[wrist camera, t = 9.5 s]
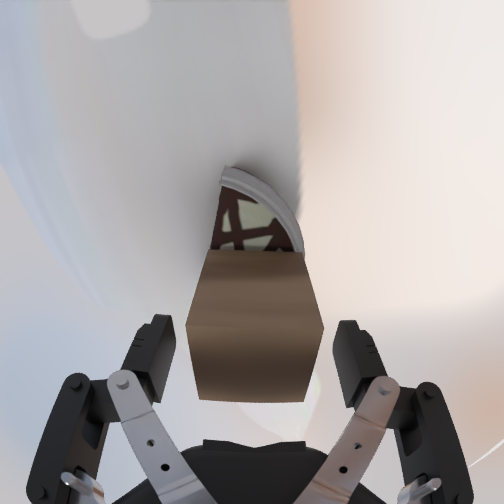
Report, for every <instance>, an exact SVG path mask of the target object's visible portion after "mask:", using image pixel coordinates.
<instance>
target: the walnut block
mask: <svg viewBox="0 0 504 504" xmlns="http://www.w3.org/2000/svg"><path fill="white" fill-rule="evenodd" d="M185 326H186V332H187V338H188V344H189V349H190V355H191V361H192V366H193V371H194V376H195V381H196V386H197V390H198V396H199V399H200V400H212V401H228V402H253V403H284V402H304V399H305V395H306V392H307V389H308V386H309V382H310V379H311V375H312V372H313V368H314V365H315V361H316V358H317V354H318V350H319V346H320V343H321V339H322V335H323V331H324V326H323V323H322V319H321V316H320V312H319V308H318V305H317V302H316V298H315V294H314V291H313V287H312V284H311V281H310V277H309V274H308V270H307V267H306V264H305V261H304V257H303V254H302V252H277V251H243V250H208V253H207V256H206V259H205V262H204V265H203V268H202V272H201V275H200V278H199V281H198V284H197V288H196V291H195V294H194V298H193V301H192V304H191V308H190V311H189V314H188V318H187V321H186V325H185Z"/></svg>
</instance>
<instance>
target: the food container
mask: <svg viewBox="0 0 504 504" xmlns="http://www.w3.org/2000/svg"><path fill="white" fill-rule="evenodd" d="M219 185H221V186H222V189H221V193H220V196H219V205H218V211H217V216H216V221H215V226H214V231H213V237H212V242H211V245H210V250H243V251H277V252H302V254H303V257H304V258H305V251H304V242H303V237H302V234H301V230H300V227H299V224H298V222H297V220H296V218H295V216H294V214H293V212H292V211H291V210H290V208H289V207H288V205H287V204H286V203H285V201H284V200H283V199H282V198H281V197H280V196H279V195H278V194H277V193H276V192H275V191H274V190H273V189H272V188H271V187H269V186H268V185H267V184H265V183H264V182H262V181H261V180H259V179H258V178H256V177H254V176H253V175H251V174H250V173H248V172H246V171H244V170H241V169H238V168H235V167H228V166H225V168H224V171H223V173H222V176H221V180H220V182H219Z"/></svg>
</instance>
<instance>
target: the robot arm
mask: <svg viewBox="0 0 504 504" xmlns="http://www.w3.org/2000/svg"><path fill="white" fill-rule="evenodd" d="M175 348H176V337H175V332H174V327H173V322H172V317H171V315H161V314H155V315H154V317H153V320H152V322H151V324H144V325H143V326H142V327H141V328H140V329H139V330H138V331H137V333H136V335H135V337H134V340H133V342H132V344H131V346H130V349H129V351H128V353H127V355H126V358H125V360H124V363H123V365H122V367H121V369H120V370H119V371H116V372H114V373H113V374H111V375H110V376H109V378H108V379H105V380H93V381H92V380H91V381H90V380H89V378H88V377H87V376H86V375H85V374H83V373H74V374H72V375H70V376H68V377H67V378H66V379H65V381H64V383H63V385H62V388H61V390H60V392H59V394H58V397H57V399H56V402H55V404H54V406H53V409H52V411H51V414H50V416H49V419H48V421H47V424H46V427H45V429H44V432H43V435H42V438H41V441H40V443H39V446H38V449H37V452H36V455H35V458H34V461H33V465H32V468H31V471H30V475H29V478H28V482H27V486H26V493H27V496H28V499H29V500H30V502H31V503H32V504H106V503H105V501H104V491H103V488H102V486H101V485H100V484H99V483H98V482H97V481H96V477H97V472H98V467H99V463H100V459H101V455H102V451H103V446H104V442H105V439H106V435H107V431H108V427H109V423H110V422H122V423H121V425H122V428H123V430H124V432H125V434H126V436H127V439H128V441H129V443H130V445H131V447H132V449H133V451H134V453H135V455H136V457H137V459H138V461H139V463H140V465H141V467H142V468H143V470H144V472H145V474H146V476H147V477H148V478H147V479H146V480H144V481H143V482H142V483H140V484H139V485H138V486H136V487H135V488H133V489H132V490H131V491H129V492H128V493H126V494H125V495H124V496H122V497H121V498H119V499H118V500H116V501H115V502H114V503H112V504H386V503H385V502H384V501H382V500H381V499H380V498H378V497H377V496H376V495H375V494H373V493H372V492H371V491H370V490H368V489H367V488H366V487H365V486H364V485H362V484H361V483H360V482H359V481H360V480H361V478H362V476H363V475H364V473H365V471H366V469H367V467H368V466H369V464H370V462H371V460H372V458H373V456H374V454H375V452H376V450H377V449H378V446H379V445H380V443H381V440H382V438H383V436H384V434H385V432H386V429H387V428H389V429H394V434H395V438H396V443H397V447H398V451H399V457H400V461H401V467H402V472H403V477H404V483H405V487H403V489H401V491H400V492H399V495H398V502H397V504H472V503H473V499H474V494H473V490H472V485H471V481H470V477H469V473H468V469H467V466H466V462H465V458H464V455H463V452H462V449H461V446H460V442H459V439H458V436H457V433H456V430H455V427H454V424H453V421H452V418H451V416H450V413H449V410H448V408H447V405H446V402H445V400H444V397H443V395H442V392H441V390H440V389H439V387H438V386H437V385H435V384H434V383H431V382H423V383H421V384H420V385H419V386H418V387H417V388H416V389H414V388H407V387H401V386H399V385H398V383H397V382H396V381H395V380H394V379H393V378H391V377H388V375H387V373H386V371H385V368H384V366H383V363H382V360H381V358H380V355H379V353H378V350H377V348H376V347H375V343H374V341H373V338H372V336H370V334H369V333H367V331H366V330H360V329H359V326H358V324H357V322H356V321H355V320H341V321H340V322H339V325H338V328H337V332H336V335H335V339H334V342H333V356H334V360H335V364H336V368H337V372H338V376H339V380H340V384H341V388H342V392H343V396H344V400H345V405H346V408H350V407H354V409H355V413H354V414H353V416H352V418H351V420H350V421H349V423H348V425H347V426H346V428H345V430H344V431H343V433H342V434H341V436H340V438H339V439H338V441H337V442H336V444H335V445H334V447H333V448H332V450H331V451H330V453H329V454H328V455H327V454H325V453H323V452H321V451H318V450H316V449H313V448H309V447H306V443H305V441H297V442H279V443H275V444H271V445H266V446H262V447H257V448H253V447H248V446H244V445H240V444H236V443H233V442H229V441H217V440H206V439H205V440H203V445H200V446H195V447H191V448H189V449H186V450H184V451H182V452H179V451H178V449H177V448H176V446H175V444H174V443H173V441H172V440H171V438H170V436H169V435H168V433H167V431H166V430H165V428H164V426H163V425H162V423H161V421H160V419H159V418H158V416H157V414H156V412H155V411H154V410H153V408H152V404H153V402H157V403H161V399H162V395H163V391H164V388H165V384H166V381H167V377H168V373H169V370H170V366H171V363H172V359H173V356H174V352H175Z"/></svg>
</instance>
